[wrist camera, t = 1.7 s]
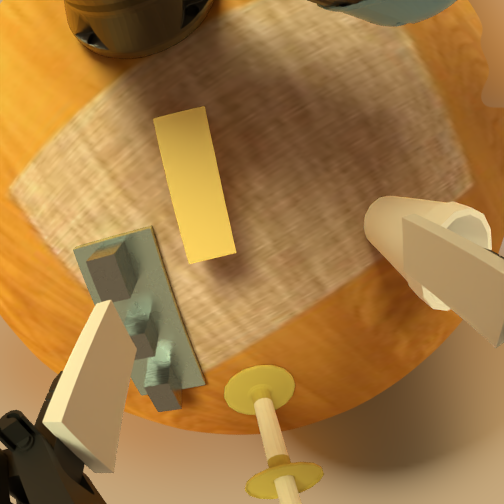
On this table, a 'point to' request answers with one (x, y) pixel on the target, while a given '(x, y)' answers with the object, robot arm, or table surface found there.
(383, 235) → the foam cup
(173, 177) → the yellow arch-shaped block
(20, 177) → the table surface
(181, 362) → the rail
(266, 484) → the candle
